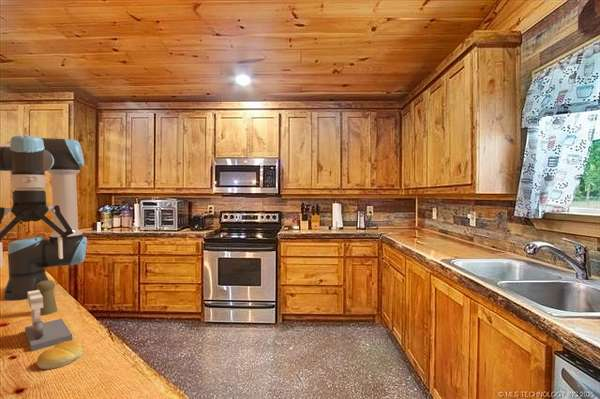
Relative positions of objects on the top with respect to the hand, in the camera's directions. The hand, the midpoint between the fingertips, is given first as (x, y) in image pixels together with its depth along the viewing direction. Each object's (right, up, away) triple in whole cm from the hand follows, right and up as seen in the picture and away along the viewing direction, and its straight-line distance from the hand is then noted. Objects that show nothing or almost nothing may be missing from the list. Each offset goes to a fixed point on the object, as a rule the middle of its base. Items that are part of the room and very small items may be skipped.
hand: (32, 261), depth 96 cm
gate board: (+5, -21, -1) cm, 22 cm away
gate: (+3, -19, -3) cm, 20 cm away
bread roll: (+19, -22, -15) cm, 33 cm away
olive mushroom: (-10, -21, +18) cm, 30 cm away
